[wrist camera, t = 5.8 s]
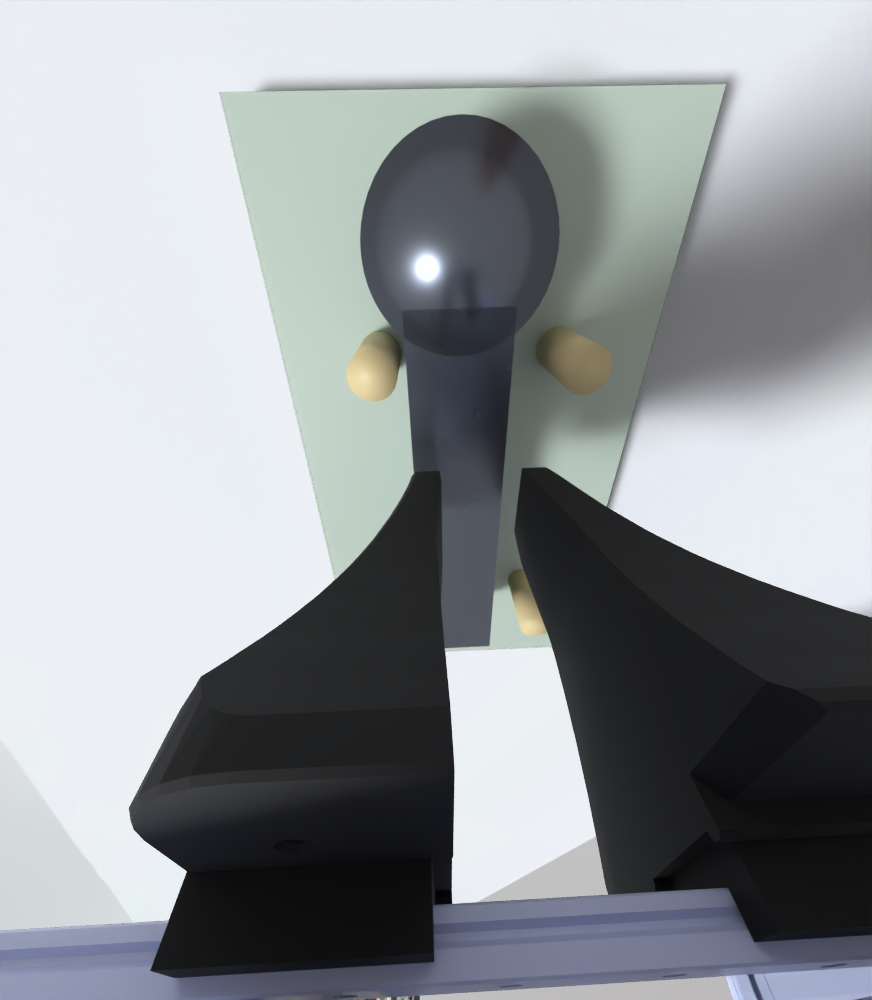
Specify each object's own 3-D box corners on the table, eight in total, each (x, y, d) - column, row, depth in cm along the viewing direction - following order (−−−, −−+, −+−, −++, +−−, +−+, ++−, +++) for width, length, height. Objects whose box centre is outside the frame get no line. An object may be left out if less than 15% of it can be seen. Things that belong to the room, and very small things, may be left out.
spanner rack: (561, 629, 20) (585, 694, 17) (355, 638, 20) (344, 704, 17) (697, 99, 9) (830, 26, 6) (238, 107, 9) (148, 35, 6)
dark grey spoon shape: (497, 594, 17) (508, 645, 15) (408, 599, 17) (407, 650, 15) (537, 145, 9) (576, 110, 6) (363, 151, 9) (344, 118, 6)
